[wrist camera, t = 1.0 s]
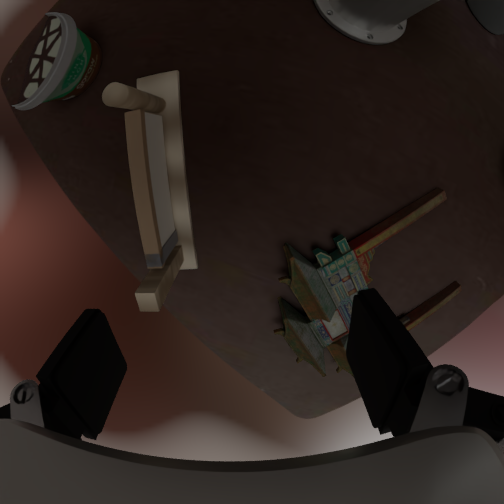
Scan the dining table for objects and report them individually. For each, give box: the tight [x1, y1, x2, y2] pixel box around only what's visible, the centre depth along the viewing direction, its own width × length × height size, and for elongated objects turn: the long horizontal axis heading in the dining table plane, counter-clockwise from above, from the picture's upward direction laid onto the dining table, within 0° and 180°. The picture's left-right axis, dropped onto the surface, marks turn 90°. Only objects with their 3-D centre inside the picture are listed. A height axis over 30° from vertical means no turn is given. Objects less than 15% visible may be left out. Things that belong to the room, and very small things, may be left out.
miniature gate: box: [274, 188, 461, 377], centre depth 35 cm, size 27×6×30 cm
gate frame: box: [102, 70, 198, 311], centre depth 25 cm, size 24×5×12 cm, turn 3°
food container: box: [12, 12, 102, 110], centre depth 19 cm, size 12×6×10 cm, turn 160°
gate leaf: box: [125, 109, 178, 269], centre depth 26 cm, size 15×2×7 cm, turn 3°
